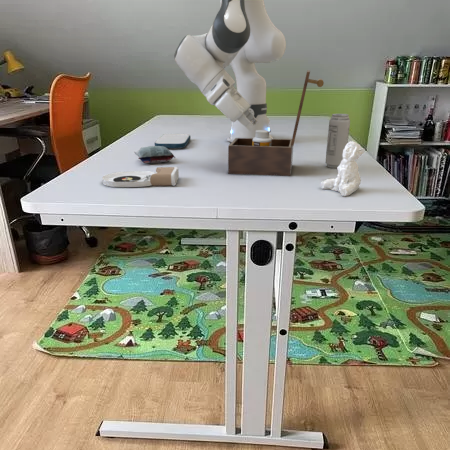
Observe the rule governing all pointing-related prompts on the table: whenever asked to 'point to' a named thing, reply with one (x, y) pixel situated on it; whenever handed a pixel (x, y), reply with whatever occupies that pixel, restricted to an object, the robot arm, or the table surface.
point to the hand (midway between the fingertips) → (254, 126)
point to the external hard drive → (173, 140)
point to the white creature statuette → (346, 171)
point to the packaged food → (154, 154)
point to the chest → (260, 157)
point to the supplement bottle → (261, 138)
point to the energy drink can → (337, 139)
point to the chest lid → (307, 80)
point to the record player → (143, 178)
